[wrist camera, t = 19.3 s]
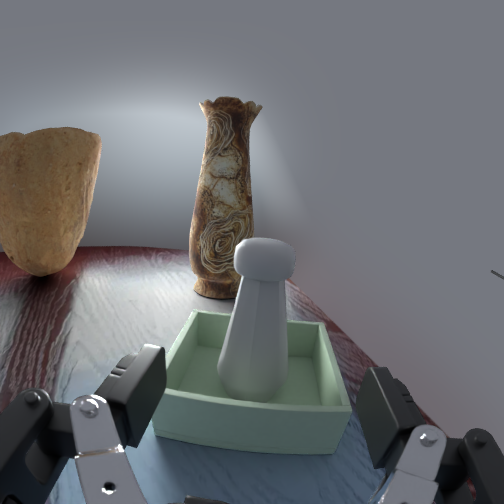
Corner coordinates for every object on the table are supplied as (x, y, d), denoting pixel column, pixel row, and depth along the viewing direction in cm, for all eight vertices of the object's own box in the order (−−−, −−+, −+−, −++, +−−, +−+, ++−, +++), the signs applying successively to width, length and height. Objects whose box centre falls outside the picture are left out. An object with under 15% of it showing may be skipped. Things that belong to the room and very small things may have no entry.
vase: (222, 307, 42) (240, 91, 35) (173, 286, 47) (185, 100, 40) (262, 289, 50) (279, 110, 43) (215, 274, 56) (228, 113, 49)
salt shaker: (291, 381, 25) (316, 241, 22) (271, 421, 20) (298, 256, 17) (233, 364, 27) (245, 229, 24) (203, 397, 22) (209, 240, 19)
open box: (193, 348, 30) (194, 308, 29) (315, 361, 30) (323, 322, 29) (154, 435, 18) (146, 389, 16) (333, 454, 17) (352, 411, 16)
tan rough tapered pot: (118, 264, 55) (123, 138, 50) (62, 308, 34) (61, 119, 28) (37, 254, 54) (38, 144, 48) (-28, 286, 32) (-33, 139, 26)
